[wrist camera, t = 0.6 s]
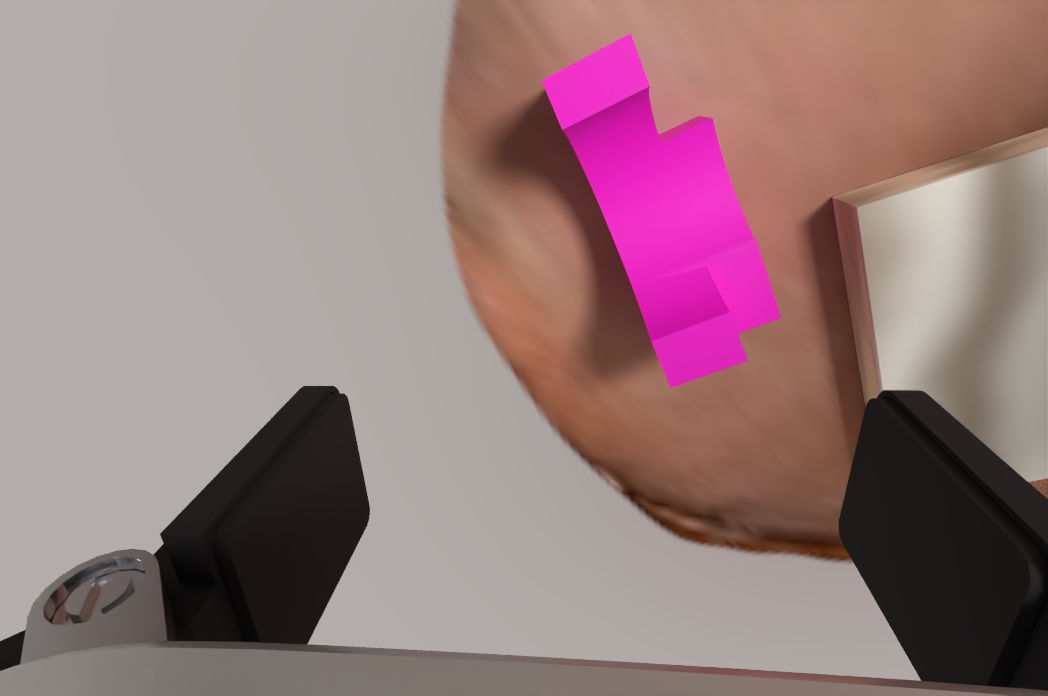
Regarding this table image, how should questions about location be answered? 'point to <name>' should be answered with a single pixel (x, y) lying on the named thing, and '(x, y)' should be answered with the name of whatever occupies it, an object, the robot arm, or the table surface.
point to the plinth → (958, 291)
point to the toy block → (666, 214)
